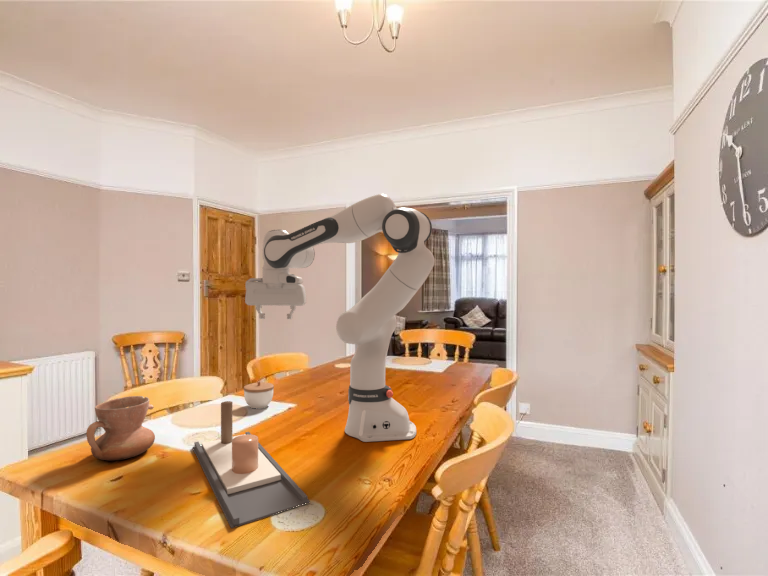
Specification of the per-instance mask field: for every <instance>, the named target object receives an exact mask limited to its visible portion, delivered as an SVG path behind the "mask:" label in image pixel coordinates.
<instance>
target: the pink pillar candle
mask: <svg viewBox="0 0 768 576" xmlns="http://www.w3.org/2000/svg"><path fill="white" fill-rule="evenodd" d="M240 435H241V436H238V435H236V436H237V437H235V438H234V439H233V440H232V471H233V472H234V473H236V474H246V473H250V472H253V471H255V470H256V469H257V468H258V442H259V436H257V435H255V434H251V435H243V434H240Z"/></svg>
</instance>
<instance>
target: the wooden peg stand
mask: <svg viewBox="0 0 768 576" xmlns="http://www.w3.org/2000/svg"><path fill="white" fill-rule="evenodd" d="M241 435H246V434H245V433H244V434H239V435H234V436H233V401H231V400H230V401H229V400H226V401H222V402H221V403H220V438H219V439H214V440H213V439H212V440H210V441H204V442H201V445H202V449H203V451H204V452H205V454H206V456H207V458H208V460H209V462H210V464H211V465H212V467H213V469H214V471H215V473H216V475H217V477H218V478H219V480H220V482H221V484H222V486H223V488H224V489H225V491H226V493H227V495H228V494H231V493H235V492H238V491H242V490H246V489H249V488H253V487H257V486H260V485H264V484H267V483H271V482H275V481H278V480H281V474H280V473H279V472H278V471H277V470H276V468H275V467H274V466H273V465H272V464H271V463H270V462H269V460H268V459H267V458H266V457H265V456H264V455H263V453H262V452H261V451H260V450H259V449H258V468H257V469H256V470H255V471H253V472H250V473H246V474H236V473H234V472H233V471H232V440H233V439H234V438H235V437H237V436H241Z"/></svg>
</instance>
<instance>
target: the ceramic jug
mask: <svg viewBox="0 0 768 576" xmlns="http://www.w3.org/2000/svg"><path fill="white" fill-rule="evenodd" d="M153 409H154V405H153V404H150V398H149V397H148V396H145V397H144V396H141V395H131V396H124V397H118V398H114V399H109V400H107V401H104V402H101V403H99V404H97V405H95V406H94V412H95V415H96V418H97V420H98V421H95V422H92V423H91V424H90V425H88V427H87V428H86V435H85V436H86V440H87V443H88V445H89V447H90V452H91V455H92V456H93V457H95V458H96V459H97V460H101V461H121V460H126V459H127V460H128V459H130V458H133V457H134V458H135V457H136V456H139V455H141V454H143V453H145V452H146V451H147V450H149V449H150V448H151V447H152V446H153V444H154V442H155V439H156V437H155V436H156V435H155V433H154V431H153V430H152V429H150V428H148V427H145V426H143V423H144V421H145V419H146V416H147V413H148V410H153ZM98 428H102V429H103V430H104V433H103V434H101V435H100V436H99V437H98V438H97V439H96V437H95V433H96V429H98Z"/></svg>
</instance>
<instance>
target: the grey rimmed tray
mask: <svg viewBox="0 0 768 576" xmlns="http://www.w3.org/2000/svg"><path fill="white" fill-rule="evenodd" d="M244 434H246V435H252V433H251V432H250V431H245V432H244ZM200 445H201V443H200V442H199V441H194V445H193V446H192V450H193V449H194V450H193V452H194V454H196V455H195V456H197V457H196V458H198V459H197V461H198V460H199V461H198V463H199V465H200V467H201V469H202V472H203V473H204V475H205V477H206V479H207V482H208V483H209V485H210V488H211V490H212V492H213V494H214V496H215V498H216V500H217V502H218V504H219V506H220V507H221V510H222V512H223V514H224V517H225V518H226V521H227V522H228V525H229V527H230V529H234V528H237V527H239V526H240V527H241V526H242V525H243V526H244V525H247V524H249V523H253V522H256V521H258V520H262V519H265V518H268V517H271V516H273V514H274V515H277V514H276V513H278V512H281V511H284V510H287V509H290V508H293V507H296V506H298V505H302V504H305V503H309V502H310V500H309V499H308V495H307V494H306V492H304V491H303V490H302V488H301V487H300V486H299V485H298V484H297V483H296V482H295V481H294V480H293V479H292V477H291V476H290V475H289V474H288V473H287V471H285V470H284V468H282V467H281V466H280V464H279V463H278V462H277V461H276V460H275V459H274V458H273V457H272V456H271V454H270V453H269V452H268V451H267V450H266V448H265V447H263V445H261V443H260V442H259V441H258V449H259V450H260V451H261V452H262V453H263V455H264V456H265V457H266V458H267V459H268V460H269V462H270V463H271V464H272V465H273V466H274V467H275V468H276V470H277V471H278V472H279V473H280V474H281V480H278V481H275V482H271V483H267V484H264V485H260V486H257V487H253V488H249V489H246V490H242V491H238V492H235V493H231V494H228V495H227V493H226V491H225V489H224V488H223V486H222V484H221V482H220V480H219V478H218V477H217V475H216V473H215V471H214V469H213V467H212V465H211V464H210V462H209V460H208V458H207V456H206V454H205V452H204V451H203V449H202V446H200ZM309 504H310V503H309ZM305 505H306V504H305ZM302 506H303V505H302ZM296 508H297V507H296ZM293 509H294V508H293ZM290 510H291V509H290ZM287 511H288V510H287ZM284 512H285V511H284ZM281 513H282V512H281ZM278 514H279V513H278Z"/></svg>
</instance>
